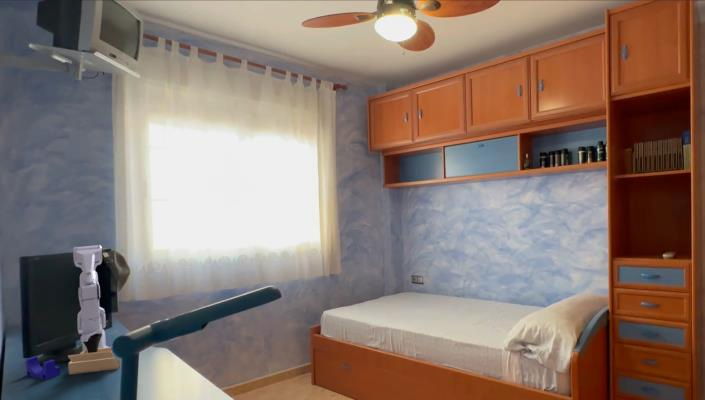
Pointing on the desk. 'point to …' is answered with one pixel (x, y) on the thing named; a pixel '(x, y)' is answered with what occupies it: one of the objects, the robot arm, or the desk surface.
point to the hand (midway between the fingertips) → (93, 355)
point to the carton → (94, 364)
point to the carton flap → (91, 356)
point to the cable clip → (37, 371)
